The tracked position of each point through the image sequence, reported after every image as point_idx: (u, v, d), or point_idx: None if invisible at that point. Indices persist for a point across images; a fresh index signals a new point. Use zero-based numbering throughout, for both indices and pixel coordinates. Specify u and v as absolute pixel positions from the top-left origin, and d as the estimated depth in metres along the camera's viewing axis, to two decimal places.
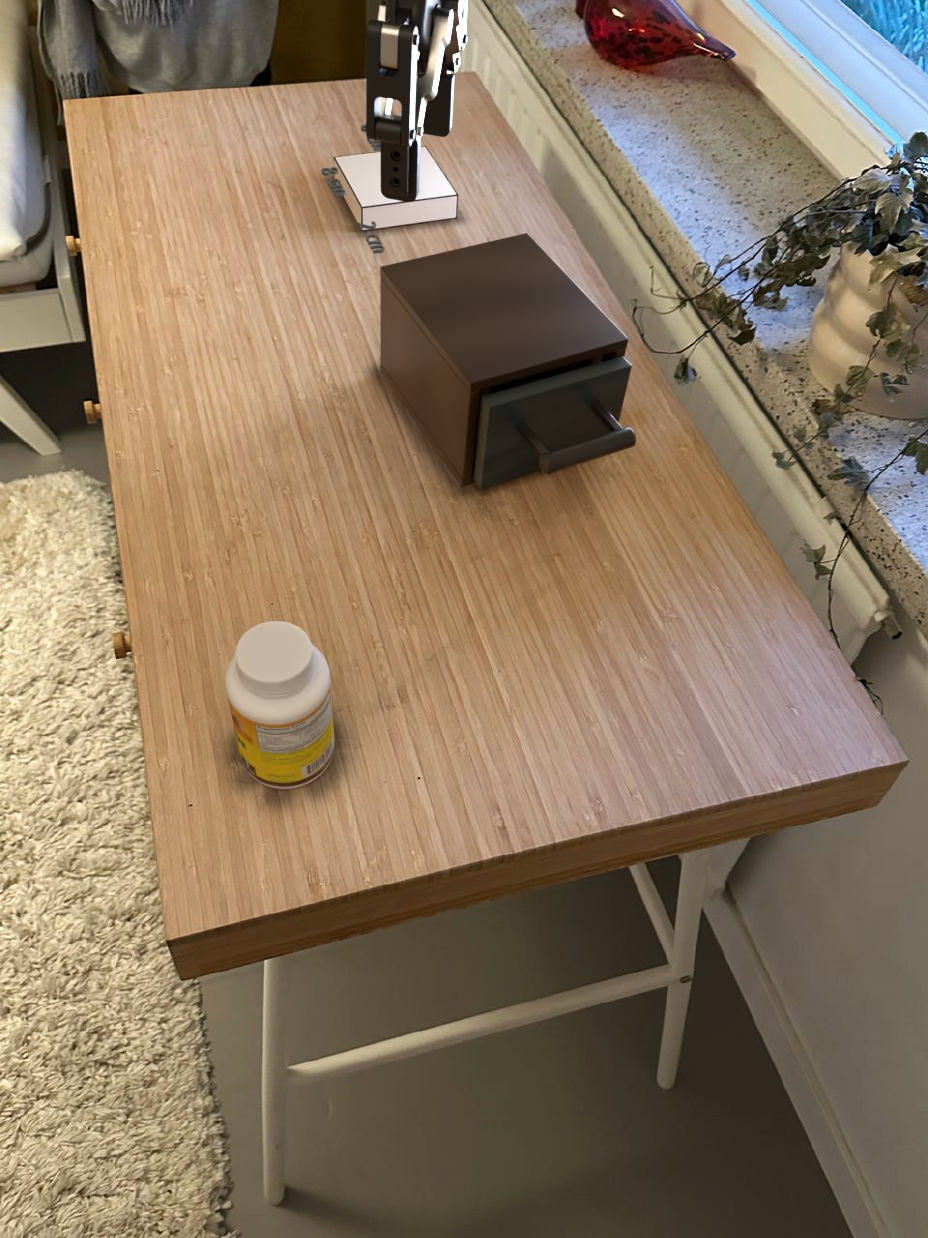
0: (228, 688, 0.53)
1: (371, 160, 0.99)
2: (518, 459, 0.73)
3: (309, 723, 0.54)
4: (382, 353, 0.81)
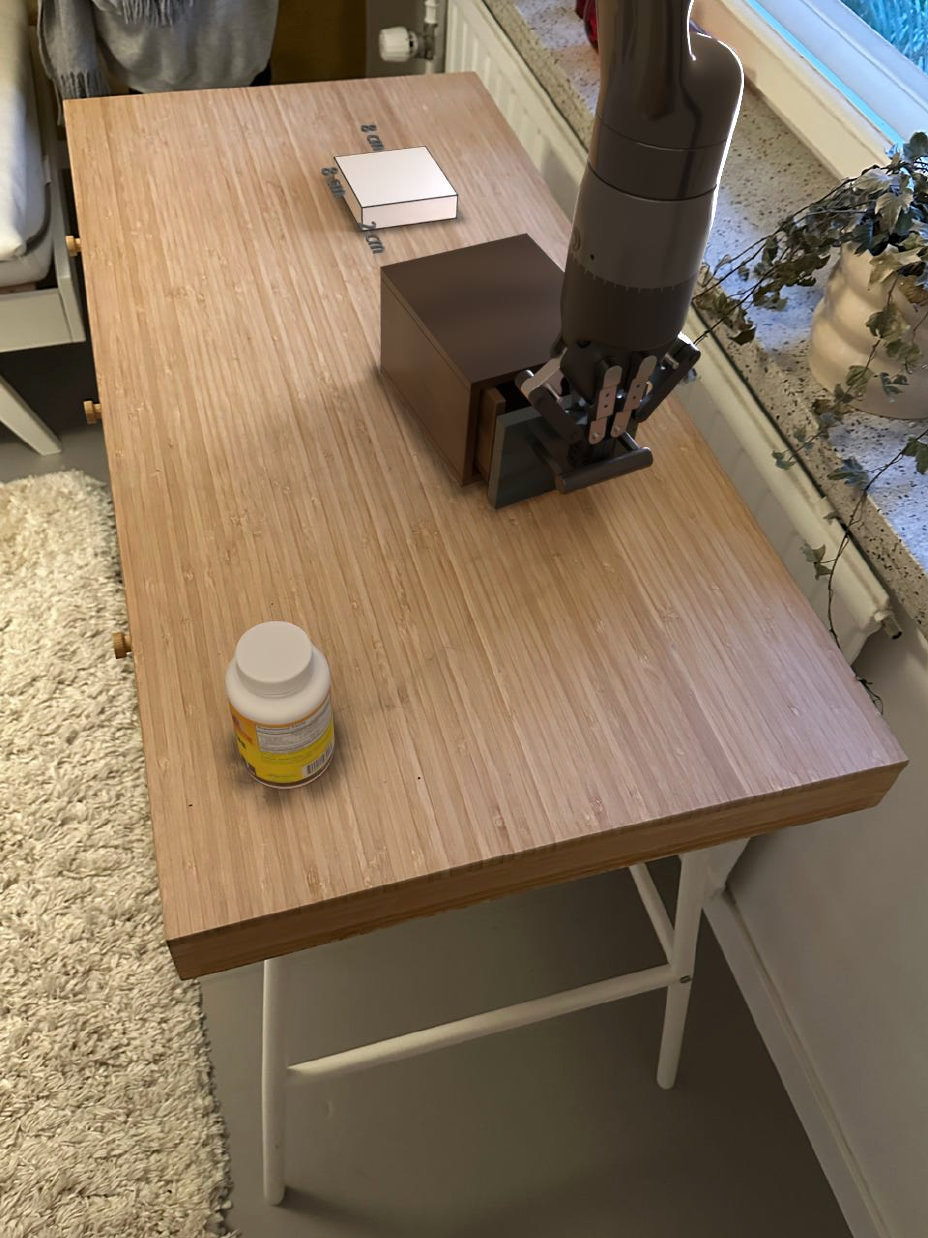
0: (228, 688, 0.53)
1: (371, 160, 0.99)
2: (533, 478, 0.72)
3: (309, 723, 0.54)
4: (382, 353, 0.81)
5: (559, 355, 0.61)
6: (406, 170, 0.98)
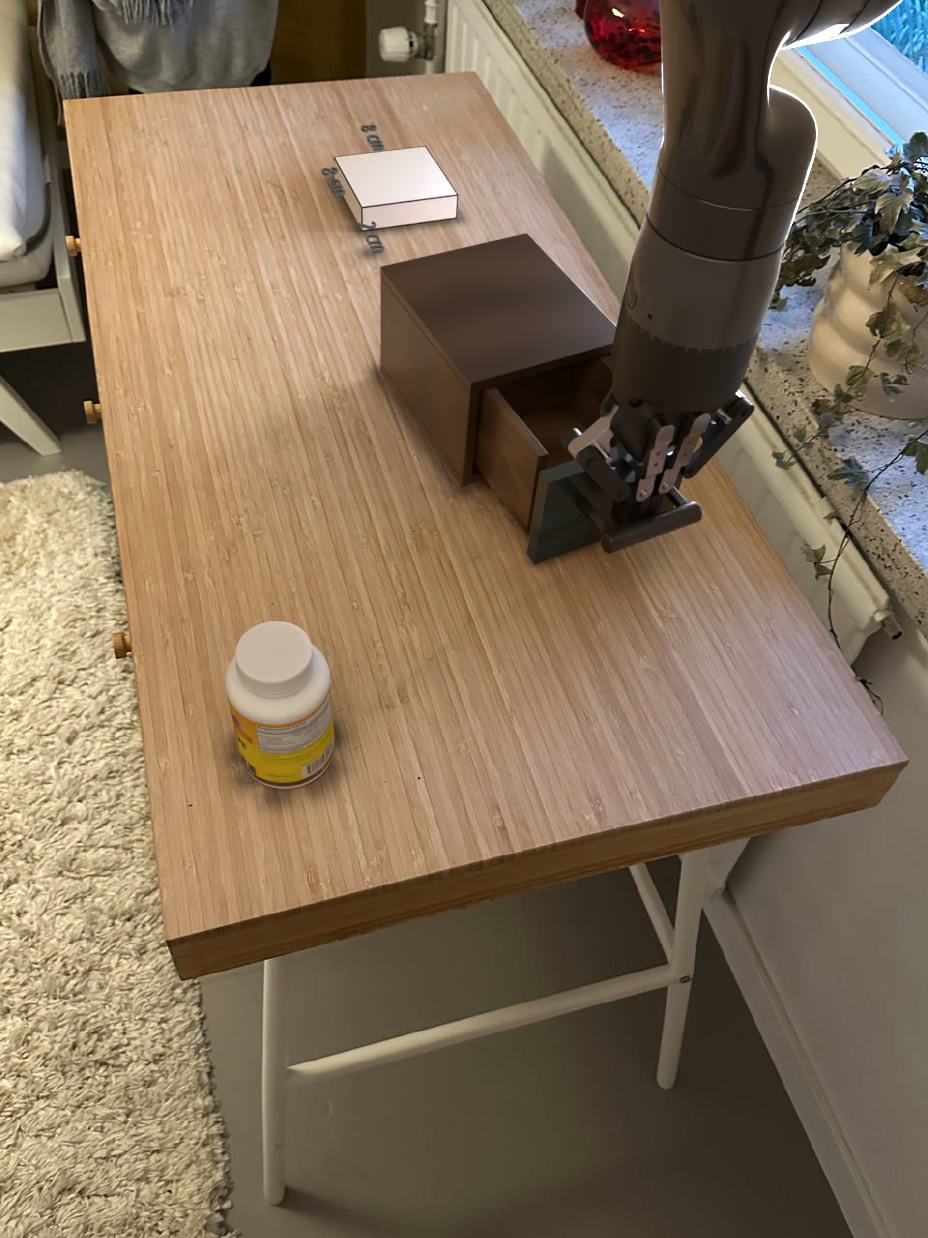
0: (228, 688, 0.53)
1: (371, 160, 0.99)
2: (574, 532, 0.69)
3: (309, 723, 0.54)
4: (382, 353, 0.81)
5: (609, 413, 0.58)
6: (406, 170, 0.98)
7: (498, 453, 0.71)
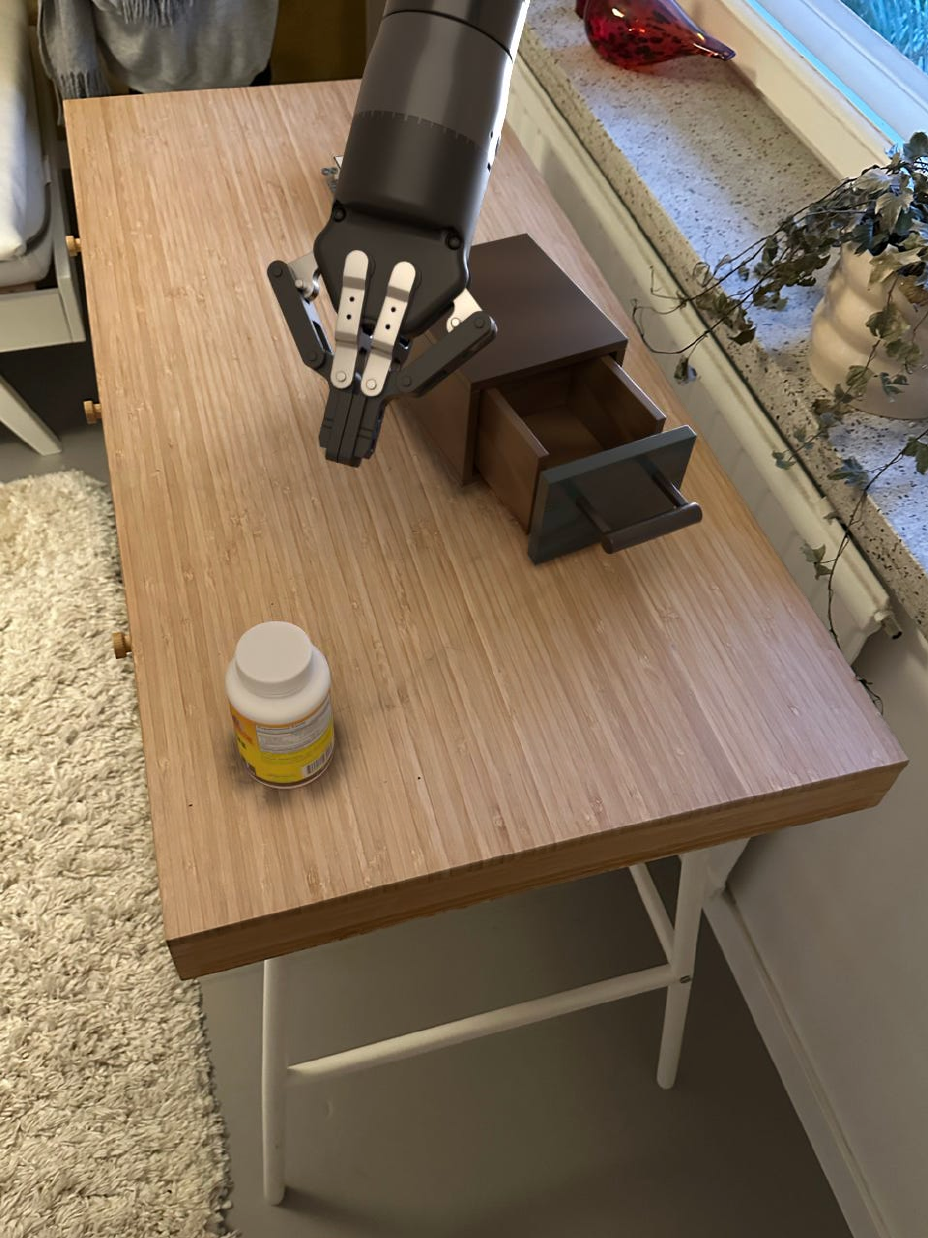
0: (228, 688, 0.53)
1: None
2: (575, 533, 0.69)
3: (309, 723, 0.54)
4: None
5: None
6: None
7: (498, 454, 0.71)
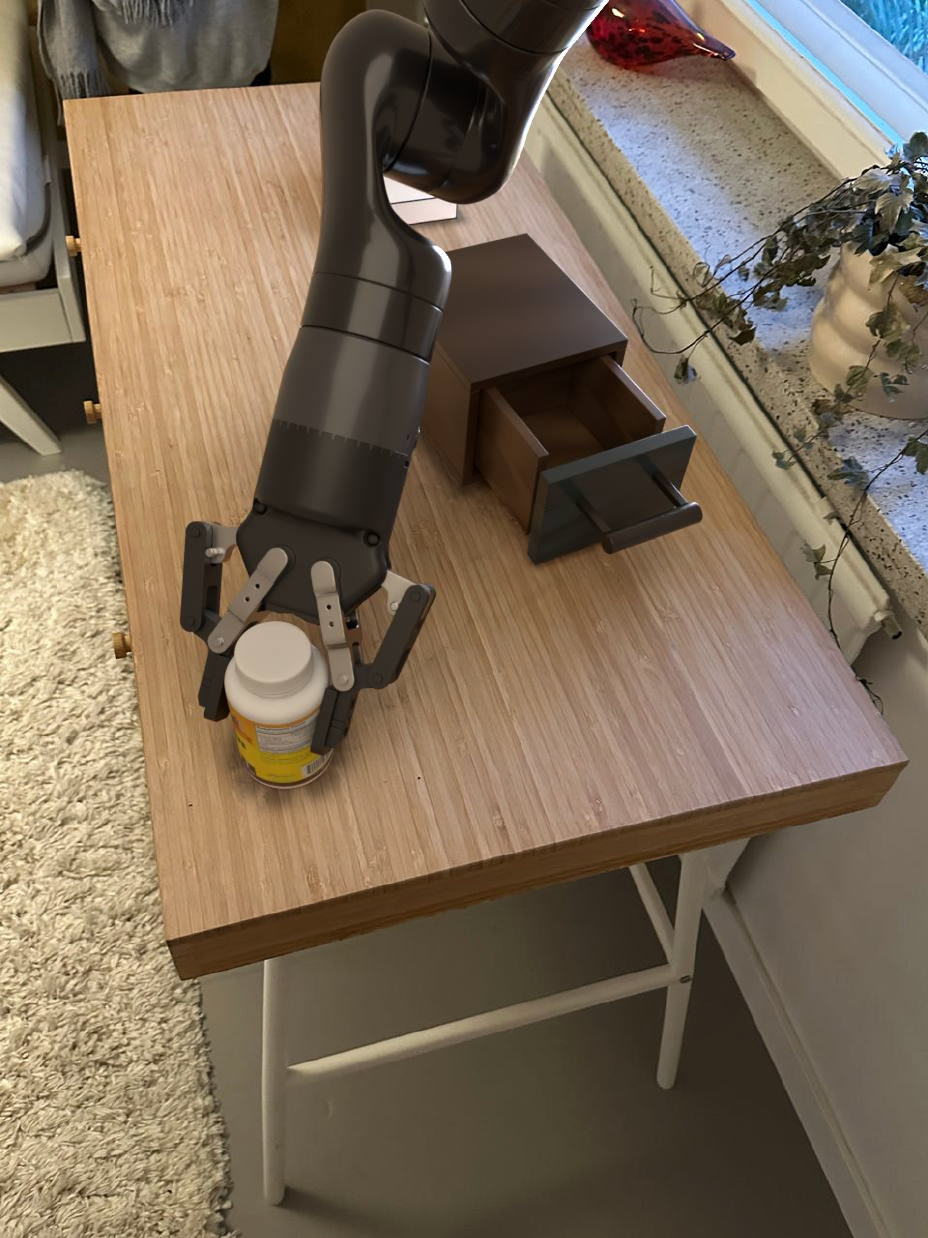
0: (227, 688, 0.53)
1: None
2: (575, 533, 0.69)
3: (309, 723, 0.54)
4: None
5: None
6: None
7: (498, 454, 0.71)
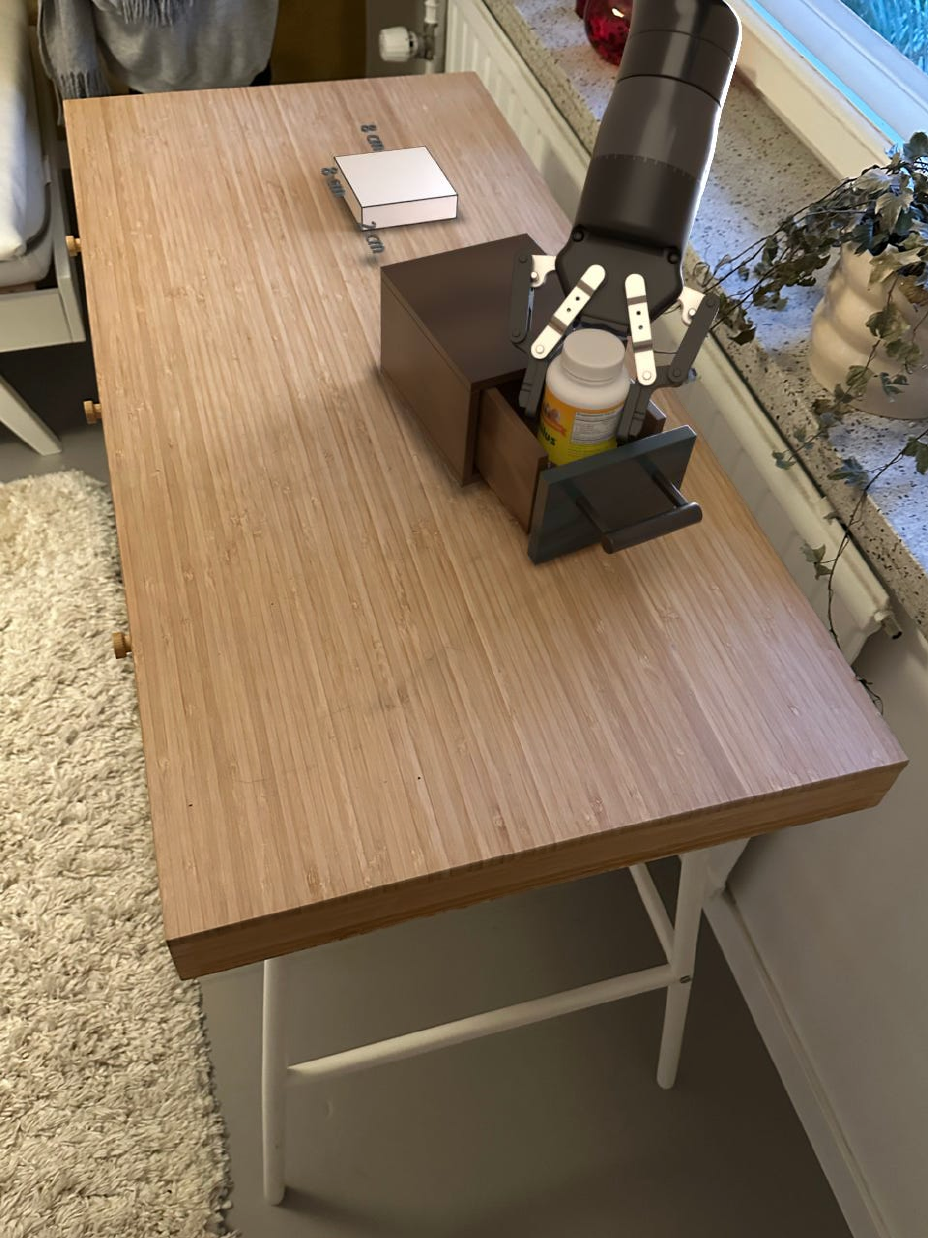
0: (553, 382, 0.65)
1: (371, 160, 0.99)
2: (575, 533, 0.69)
3: (616, 413, 0.66)
4: (382, 353, 0.81)
5: None
6: (406, 169, 0.98)
7: (498, 454, 0.71)
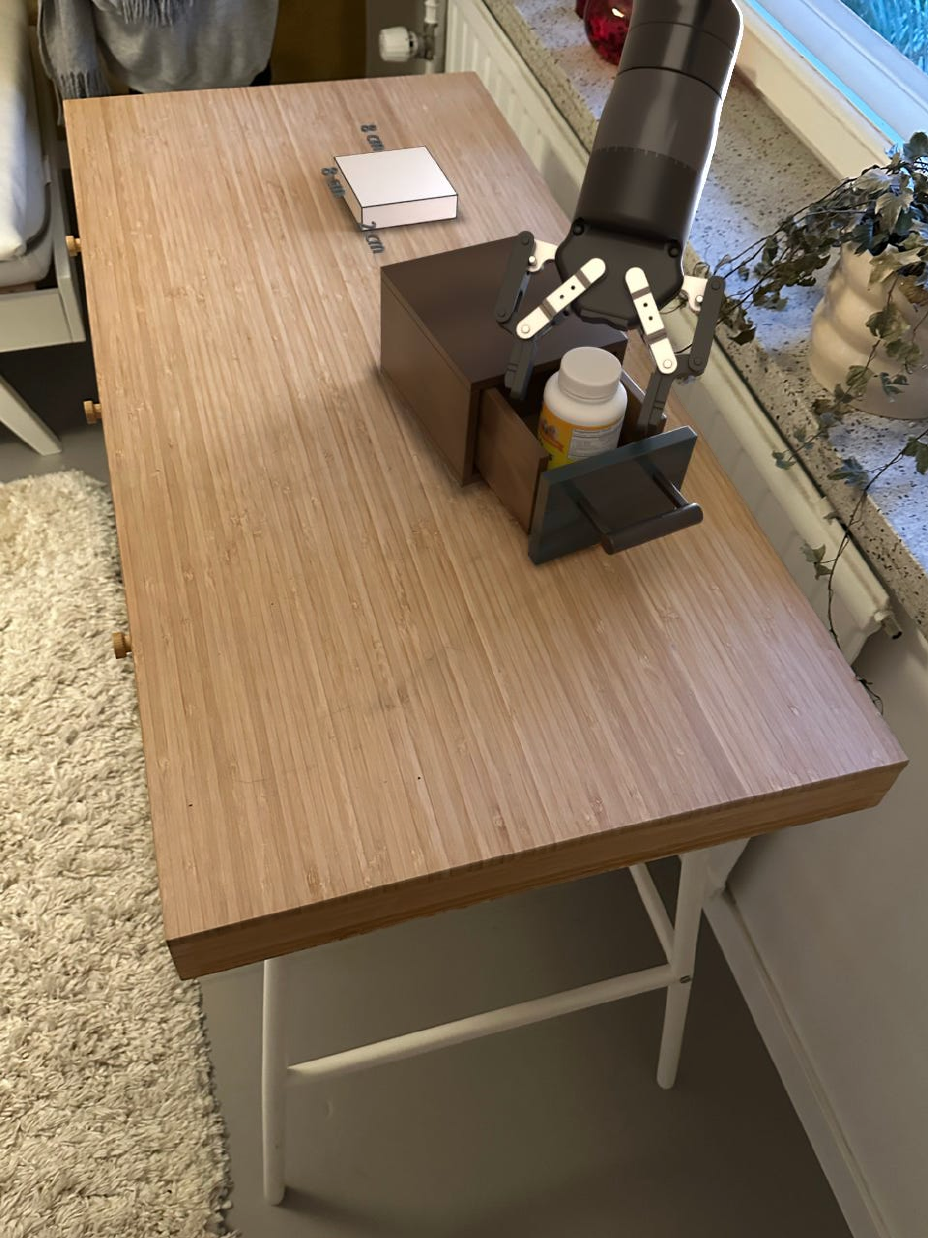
0: (550, 399, 0.66)
1: (371, 160, 0.99)
2: (575, 534, 0.69)
3: (612, 430, 0.67)
4: (382, 353, 0.81)
5: None
6: (406, 169, 0.98)
7: (499, 454, 0.70)
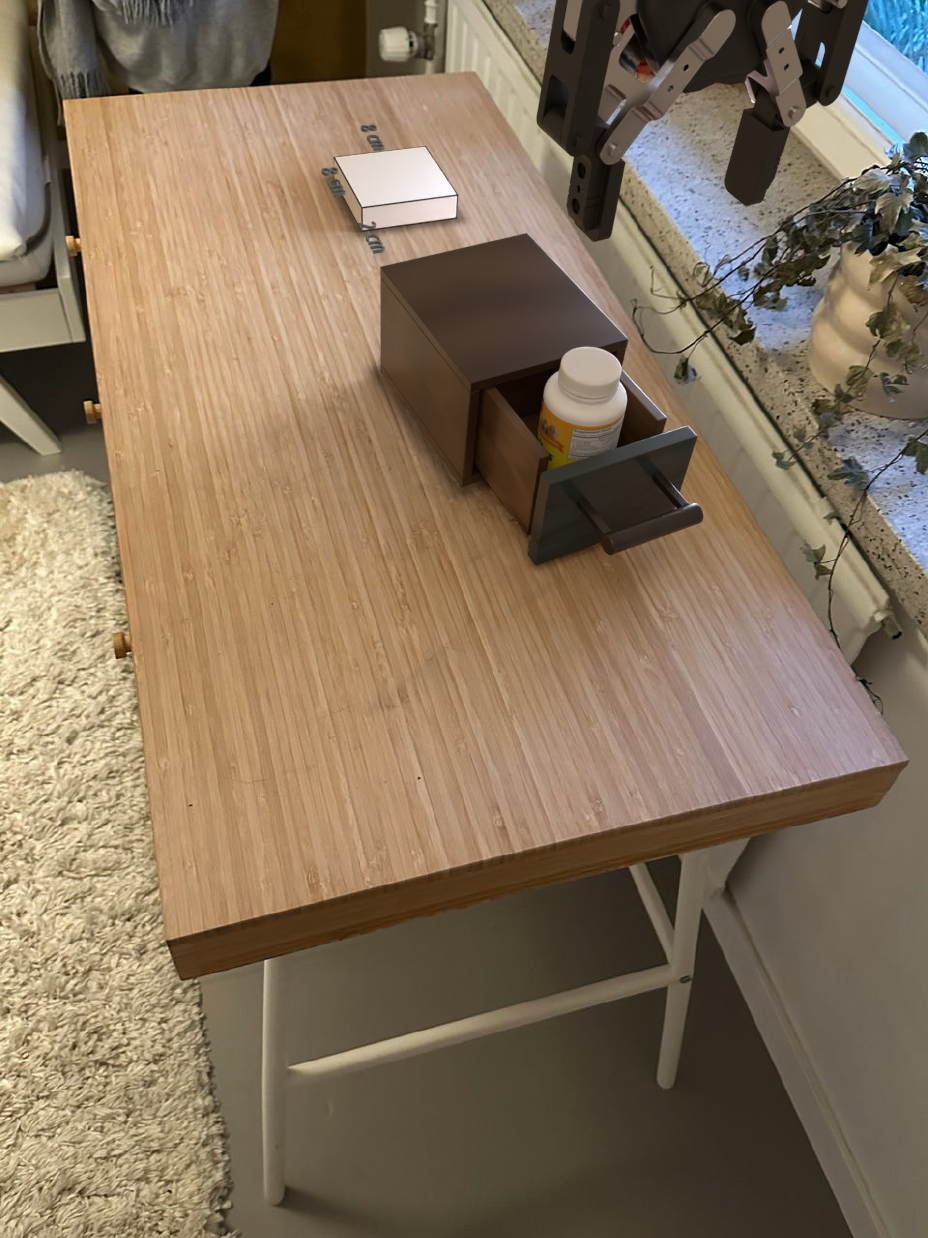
0: (550, 399, 0.66)
1: (371, 160, 0.99)
2: (575, 534, 0.69)
3: (612, 430, 0.67)
4: (382, 353, 0.81)
5: None
6: (406, 170, 0.98)
7: (499, 454, 0.70)
